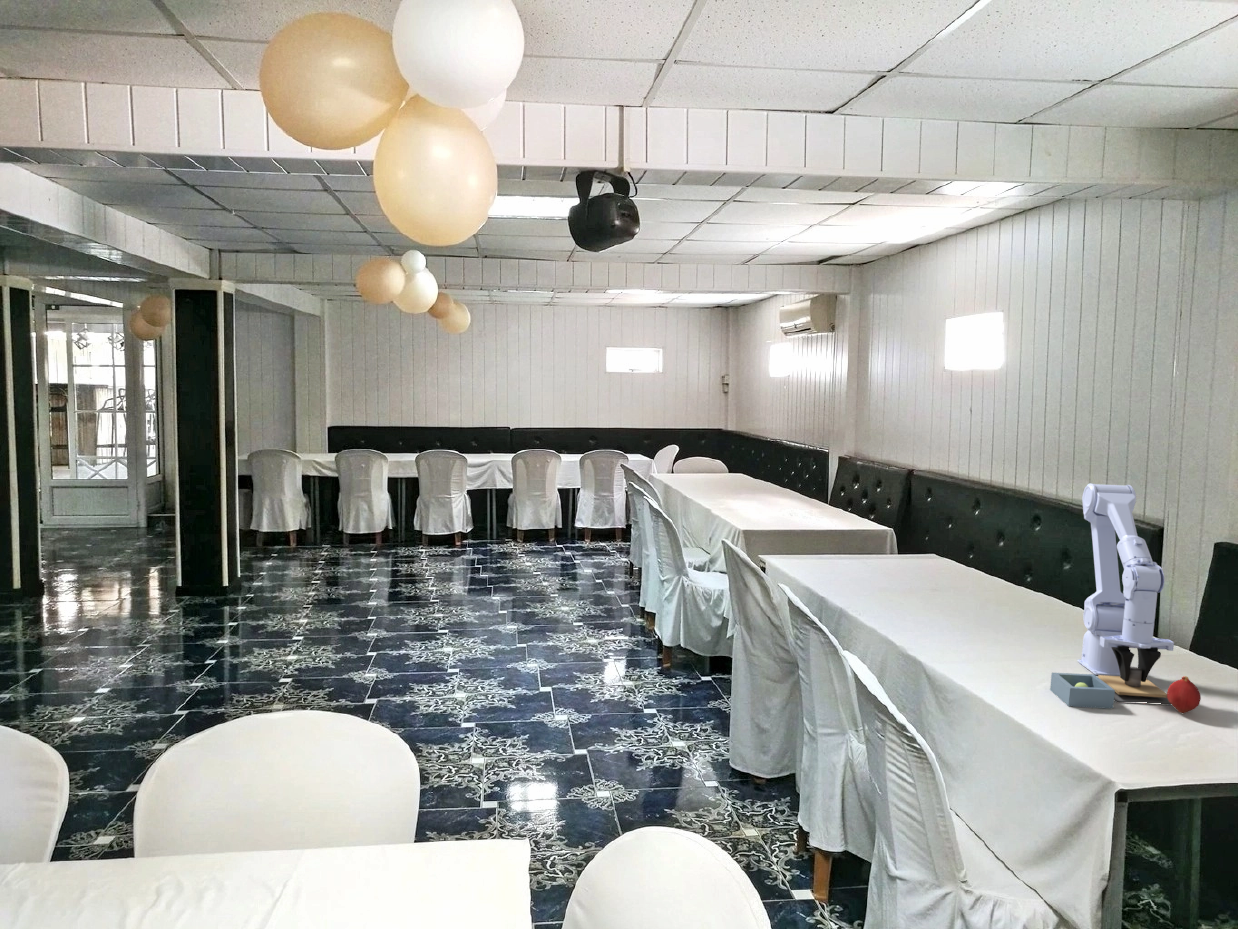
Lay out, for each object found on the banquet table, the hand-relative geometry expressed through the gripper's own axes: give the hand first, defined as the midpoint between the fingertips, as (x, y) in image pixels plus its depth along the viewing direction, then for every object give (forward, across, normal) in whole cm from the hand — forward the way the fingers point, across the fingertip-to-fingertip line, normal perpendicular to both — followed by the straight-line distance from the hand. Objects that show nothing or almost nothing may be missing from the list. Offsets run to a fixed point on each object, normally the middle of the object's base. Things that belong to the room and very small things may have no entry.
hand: (1132, 680), depth 186 cm
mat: (+3, 0, 0) cm, 3 cm away
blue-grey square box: (+3, -13, -5) cm, 14 cm away
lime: (+1, -13, -5) cm, 14 cm away
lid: (+2, 0, 0) cm, 2 cm away
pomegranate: (+3, +5, -10) cm, 12 cm away
